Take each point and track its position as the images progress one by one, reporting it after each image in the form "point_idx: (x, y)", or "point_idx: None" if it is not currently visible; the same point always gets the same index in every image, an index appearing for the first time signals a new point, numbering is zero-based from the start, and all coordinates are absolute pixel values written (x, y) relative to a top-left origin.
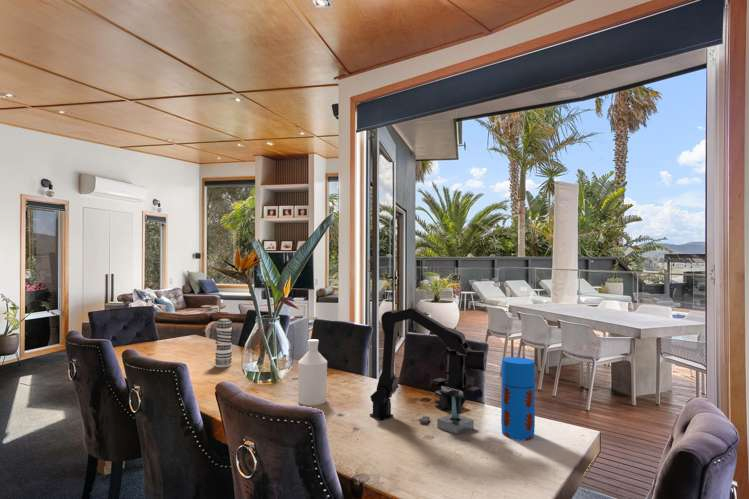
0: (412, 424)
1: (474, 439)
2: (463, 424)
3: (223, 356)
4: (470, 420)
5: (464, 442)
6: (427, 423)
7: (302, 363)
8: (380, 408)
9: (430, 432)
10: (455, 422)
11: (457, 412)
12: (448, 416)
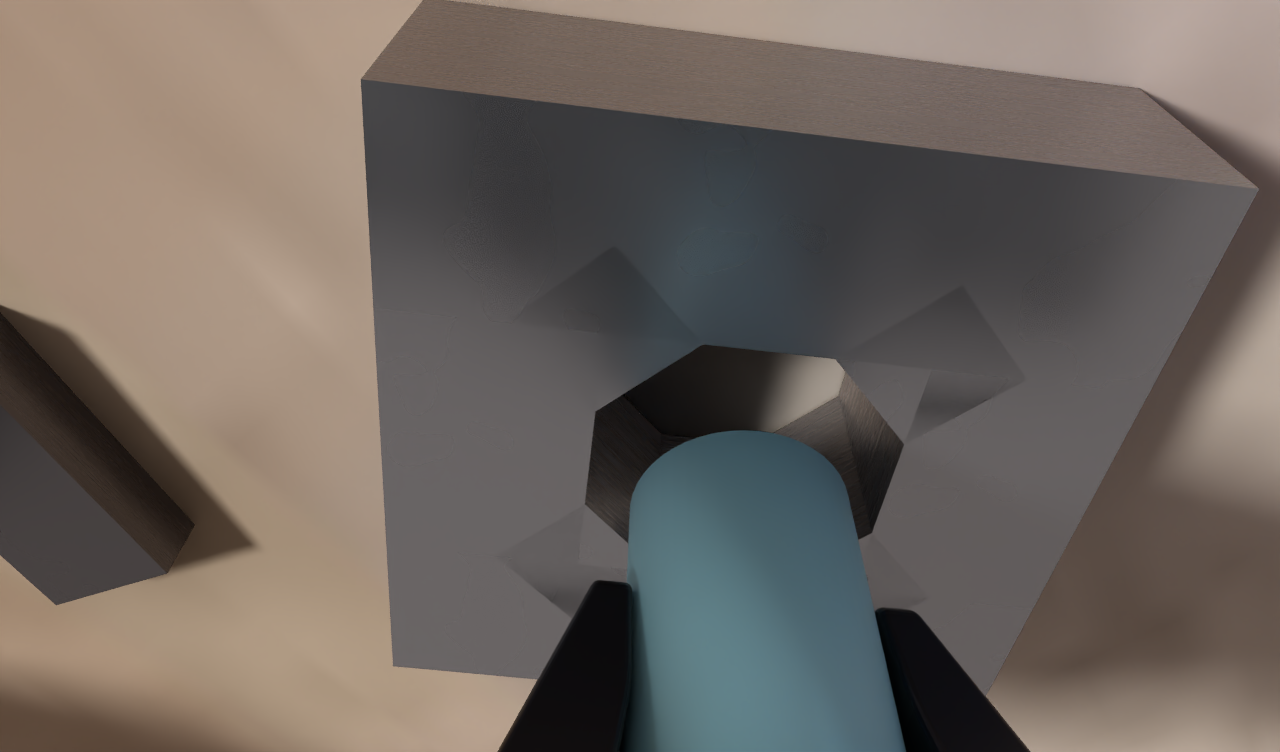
0: (45, 639)
1: (1265, 561)
2: (1038, 577)
3: None
4: (1163, 301)
5: (1121, 709)
6: (150, 478)
7: None
8: None
9: (499, 707)
10: None
11: None
12: (469, 419)
